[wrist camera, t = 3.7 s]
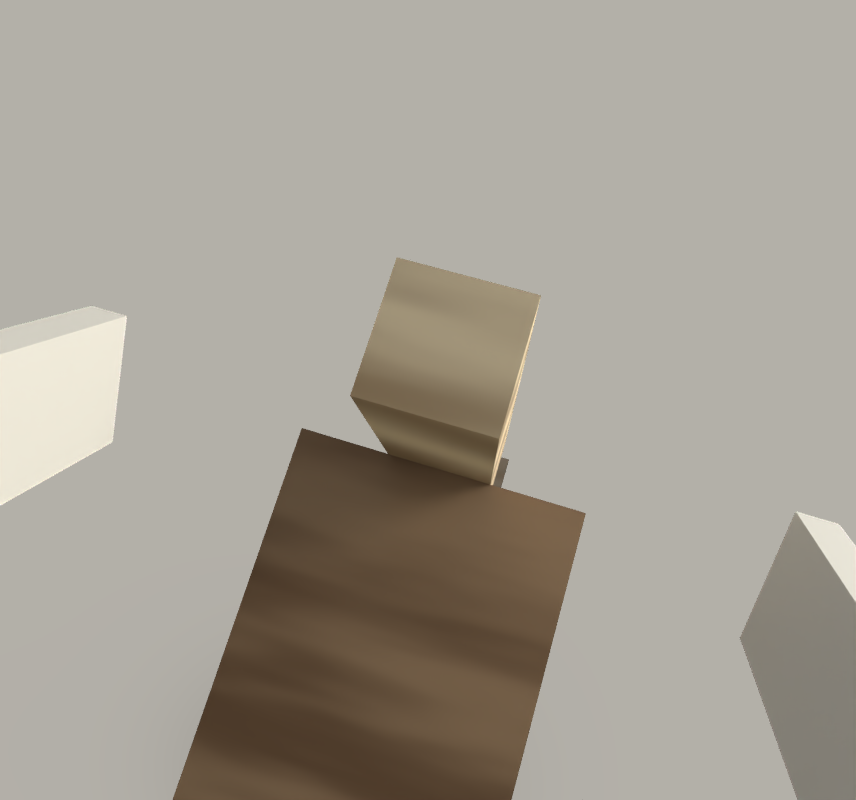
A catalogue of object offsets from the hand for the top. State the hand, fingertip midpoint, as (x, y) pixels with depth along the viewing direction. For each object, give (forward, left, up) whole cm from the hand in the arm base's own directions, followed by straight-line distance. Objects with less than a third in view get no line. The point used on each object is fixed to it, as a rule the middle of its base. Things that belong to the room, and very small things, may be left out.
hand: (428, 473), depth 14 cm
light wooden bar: (-3, +12, +2) cm, 13 cm away
